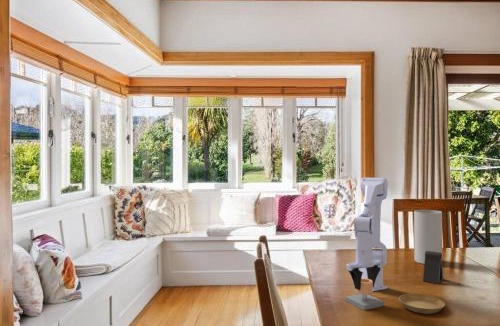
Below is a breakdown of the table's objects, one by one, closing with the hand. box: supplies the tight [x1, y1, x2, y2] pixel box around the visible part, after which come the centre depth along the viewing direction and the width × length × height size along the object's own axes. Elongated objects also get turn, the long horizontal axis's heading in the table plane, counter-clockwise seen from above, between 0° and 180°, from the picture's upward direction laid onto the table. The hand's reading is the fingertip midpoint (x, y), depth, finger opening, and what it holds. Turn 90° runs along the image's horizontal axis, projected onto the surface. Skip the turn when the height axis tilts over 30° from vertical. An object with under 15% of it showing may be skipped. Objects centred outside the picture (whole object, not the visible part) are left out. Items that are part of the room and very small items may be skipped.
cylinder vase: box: [413, 209, 443, 265], centre depth 200 cm, size 12×12×25 cm
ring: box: [355, 278, 374, 295], centre depth 145 cm, size 6×6×4 cm
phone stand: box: [422, 251, 445, 285], centre depth 170 cm, size 9×6×12 cm, turn 141°
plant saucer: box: [398, 293, 446, 315], centre depth 140 cm, size 15×15×3 cm
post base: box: [345, 293, 385, 311], centre depth 145 cm, size 10×9×6 cm
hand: (364, 287), depth 145 cm, fingers closed on ring, 6 cm apart
